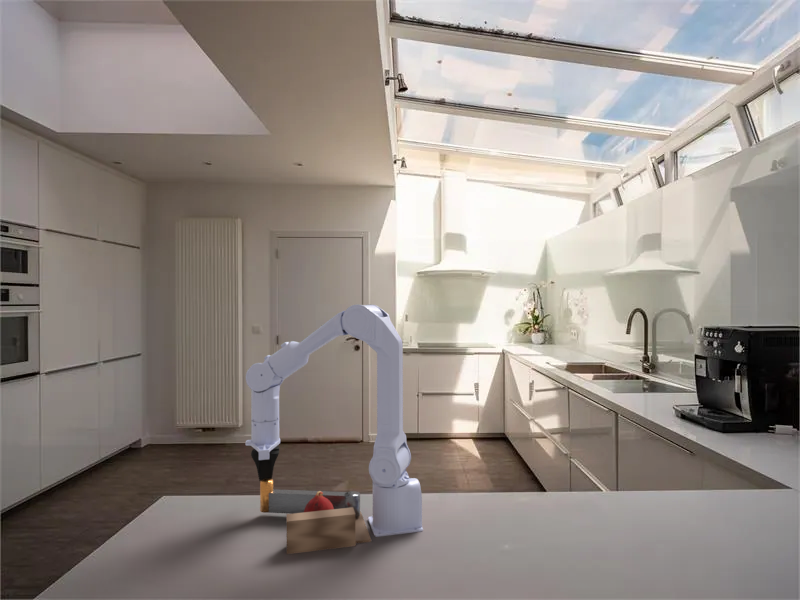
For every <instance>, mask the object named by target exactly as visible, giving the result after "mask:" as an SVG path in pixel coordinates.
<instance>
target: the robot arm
mask: <svg viewBox="0 0 800 600" xmlns="http://www.w3.org/2000/svg"><path fill="white" fill-rule="evenodd" d="M347 335H349V336H351V337H353V338H356V339H357V340H360V341H362V342H364V343H366V345H368V346H369V347H370V348H371V349H372V350H373V351H374V352H375V353H376V435H375V439H374V440H375V441H374V445H373V454H372V457H371V459H370V461H369V464H368V473H369V476H370V478H371V479H372V480H371V481H372V515H371V516H370V515H369V516H368V517H367V520H368V523H369V526H370V528H371V532H372V533H373V536H374V537H377V538H378V537H385V536H386V537H387V536H394V535H402V534H410V533H419V532H423V531H424V528H423V496H422V495H423V494H422V490H421V489H422V487H421V484H420V481H419V479H418V478H415V477H413V478H412V477H410V476H409V473H408V472H407V468H408V467H409V466H410V464H411V462H412V461H411V460H412V454H411V451H410V448H409V445H408V442H407V435H406V433H405V432H404V373H403V372H404V371H403V370H404V357H403V355H404V354H403V353H404V351H403V349H404V348H403V347H404V345H403V344H404V343H403V340H402V338H401V336H400V334H399V332H398V330H397V329H396V327H395V325H394V323H393V322H392V320H391V318H390V314H389V313H387V311H385V310H384V309H382V308H381V307H379V306H378V305H377V304H357V303H356V304H352V305H350V306H348V307H347V308H346V309H345V310H342V311H340V312H338V313H336V314H335V315H333V316H332V317H331V318H330V319H328V320H327V321H326V322H324V323H323V324H322V325H321V326H320V327H318V328H316V329H315V330H314V331H313V332H312V333H310V334H309V335H308V336H307V337H305V338H304V339H303V340H301V341H300V342H298V341H294V340H291V341H285V342H283V343H281V344H280V347H281V348H280V349H278V350H277V351H275V352H273V354H271V355H270V354H267V355H266V356H264V358H263V360H264V361H263V362H256V363H253V364H252V365H251V366H250V367H249V368H248V369H247V371H246V373H245V382H246V385H247V386H248V388H249V389H250V392H251V393H250V396H251V397H250V402H251V403H250V405H251V406H250V408H251V410H250V411H251V413H250V416H251V418H250V419H251V420H250V421H251V422H250V423H251V424H250V425H251V431H250V433H251V434H250V435H251V437H250V438H251V439H247V440H245V443H244V444H245V446H248V447H249V446H251V447H252V448H253V449H252V450H251V452H250V454H251V455H250V456H251V458H252V460H253V462H254V464H255V467H256V470H257V475H258V481H259V482H260V481H261V480H263V479H273V473H274V468H275V465H276V461H277V459H278V457H279V455H280V446H279V444H281V438H280V393H281V392H280V391H281V390H280V389H281V388H280V387H281V385H282V384H283V383H284V381H285V380H286V379H287V378H289V377H290V376H292V375H293V374H294V373H296V372H297V371H299V370H300V369H302V368H303V367H305V366H306V365H307V364H308V362H309V358H310V355H312V354H313V353H314V352H316V351H318V350H319V349H321V348H322V347H324V346H325V345H328V344H329V343H330V342H332V341H333V340H335V339H336V338H338V337H340V336H342V337H343V336H347Z"/></svg>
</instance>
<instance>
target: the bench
mask: <svg viewBox="0 0 800 600" xmlns="http://www.w3.org/2000/svg"><path fill="white" fill-rule="evenodd" d="M369 532H370V531H369V530H368V527H367V525H366V521H365V520H364V516H363V513H362V511H361V510H360V515H359V516H357V517H355V511H354V509H353V507H351V508H341V509H332V510H322V511H313V512H303V513H294V514H288V513H286V555H291V554H298V553H299V554H300V553H309V552H315V551H316V552H317V551H323V550H332V549H340V548H341V549H342V548H349V547H356V545H357V544H362V543H372V538H371V535H370V533H369Z"/></svg>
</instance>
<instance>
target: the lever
mask: <svg viewBox="0 0 800 600" xmlns="http://www.w3.org/2000/svg"><path fill="white" fill-rule="evenodd" d="M259 485H260V486H259V501H260V503H259V506H260V507H259V509H260V512H261V513H266V514H267V513H271V514H294V513H303V512H304V510H305V507H306V505H307V503H308V502H309V501H310V500H311V499H312V498H314V497H315V496H316V494H317V492H319V491H321V492H323V494H322V495H323V497H325V498H327V499H328V500H329V501H330V502H331V503H332V505H333V507H334V509H341V508H351V507H353V509H354V511H355V517H357V516H359V515H360V511H361V493H360V491H356V490H351V491H329V490H328V491H327V490H326V491H325V490H300V489H299V490H298V489H297V490H296V489H274V479H273V478H272V479H263V480H261V481H259Z"/></svg>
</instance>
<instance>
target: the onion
mask: <svg viewBox="0 0 800 600" xmlns="http://www.w3.org/2000/svg"><path fill="white" fill-rule="evenodd" d="M318 491H319V492H317V494H316V496H315V497H314V498H312V499H311V500H310V501H309V502H308V503H307V505H306V507H305V510H304V512H313V511H322V510H332V509H334V507H333V505H332V503H331V502H330V501H329V500H328V499H327V498H325V497H323V495H322V494H323V492H321V491H322V490H318Z"/></svg>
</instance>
